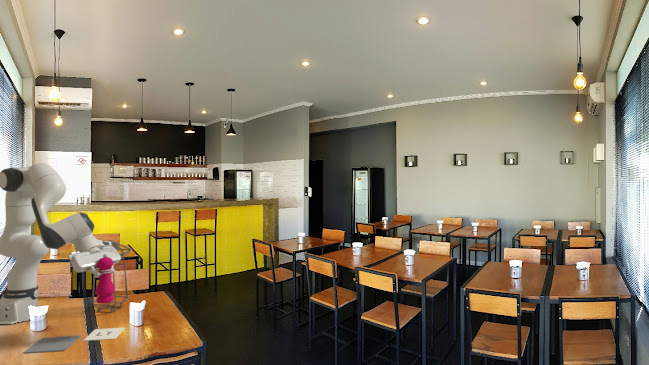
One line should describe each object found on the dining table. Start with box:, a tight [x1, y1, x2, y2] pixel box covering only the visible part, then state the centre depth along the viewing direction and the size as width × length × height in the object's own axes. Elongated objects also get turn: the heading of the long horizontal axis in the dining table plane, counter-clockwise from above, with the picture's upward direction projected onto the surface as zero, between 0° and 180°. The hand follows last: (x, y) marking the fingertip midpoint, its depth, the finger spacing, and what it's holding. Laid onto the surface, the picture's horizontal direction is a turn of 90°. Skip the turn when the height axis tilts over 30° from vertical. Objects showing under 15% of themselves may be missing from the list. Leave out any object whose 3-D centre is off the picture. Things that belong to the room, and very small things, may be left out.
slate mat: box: [22, 335, 81, 354], centre depth 155 cm, size 14×14×1 cm
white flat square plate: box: [82, 327, 125, 342], centre depth 166 cm, size 12×12×1 cm
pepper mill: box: [94, 254, 116, 304], centre depth 166 cm, size 7×7×20 cm
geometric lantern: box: [90, 239, 133, 314], centre depth 196 cm, size 16×16×35 cm
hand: (106, 274), depth 166 cm, fingers closed on pepper mill, 5 cm apart
